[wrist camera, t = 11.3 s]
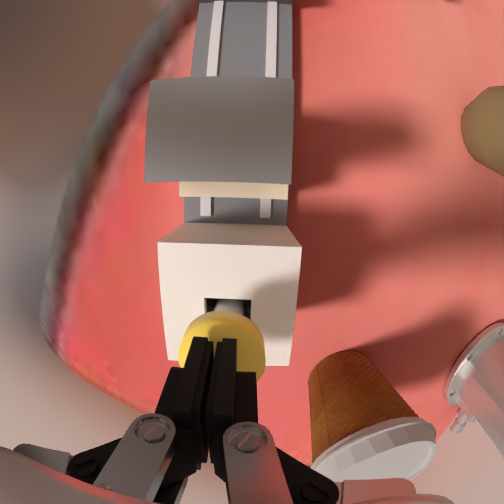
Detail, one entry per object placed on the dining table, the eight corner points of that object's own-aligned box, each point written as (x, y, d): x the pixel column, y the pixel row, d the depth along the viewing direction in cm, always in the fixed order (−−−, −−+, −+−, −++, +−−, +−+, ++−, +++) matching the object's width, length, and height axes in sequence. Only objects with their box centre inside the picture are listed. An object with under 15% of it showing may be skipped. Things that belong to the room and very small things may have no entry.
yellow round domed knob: (259, 322, 18) (263, 394, 11) (203, 320, 18) (182, 389, 11) (261, 269, 17) (268, 326, 10) (201, 267, 17) (174, 321, 10)
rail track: (278, 312, 22) (282, 334, 19) (189, 309, 22) (180, 330, 18) (290, -3, 15) (295, -25, 12) (203, -4, 15) (197, -26, 12)
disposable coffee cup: (303, 331, 22) (340, 449, 11) (399, 336, 23) (466, 422, 11) (281, 409, 25) (293, 512, 13) (366, 408, 25) (402, 494, 14)
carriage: (281, 196, 18) (324, 223, 8) (190, 193, 18) (114, 217, 7) (284, 121, 17) (329, 54, 6) (192, 119, 17) (123, 57, 6)
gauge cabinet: (279, 319, 21) (288, 368, 15) (187, 316, 21) (168, 362, 15) (286, 225, 19) (301, 247, 13) (184, 222, 19) (157, 242, 13)
